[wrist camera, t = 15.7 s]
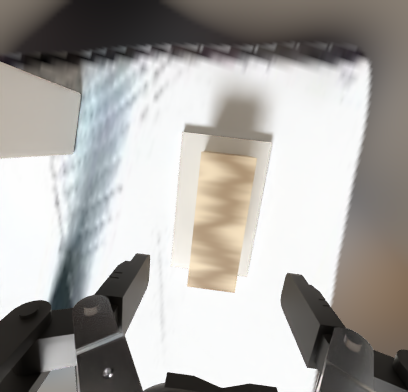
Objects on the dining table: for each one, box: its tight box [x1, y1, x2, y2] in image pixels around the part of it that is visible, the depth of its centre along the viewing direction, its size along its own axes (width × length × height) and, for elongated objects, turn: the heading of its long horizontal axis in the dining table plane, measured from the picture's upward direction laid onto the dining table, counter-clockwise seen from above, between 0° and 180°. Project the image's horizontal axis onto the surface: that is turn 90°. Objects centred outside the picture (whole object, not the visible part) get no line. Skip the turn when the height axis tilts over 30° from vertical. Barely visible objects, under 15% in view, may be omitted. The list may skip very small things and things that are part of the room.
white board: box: [171, 132, 272, 277], centre depth 25 cm, size 10×17×1 cm, turn 174°
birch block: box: [187, 151, 257, 293], centre depth 22 cm, size 5×5×14 cm
